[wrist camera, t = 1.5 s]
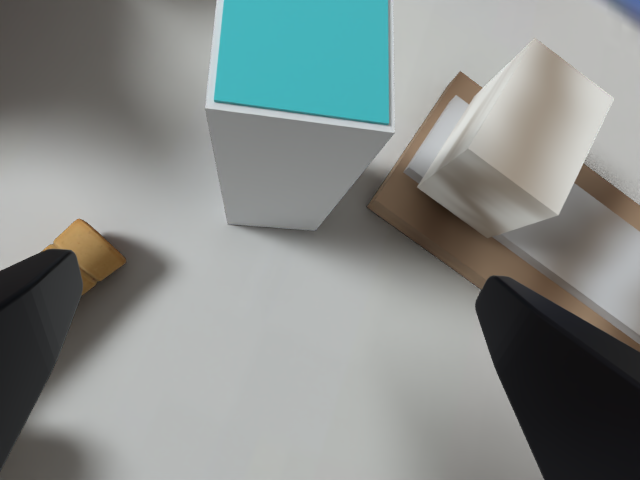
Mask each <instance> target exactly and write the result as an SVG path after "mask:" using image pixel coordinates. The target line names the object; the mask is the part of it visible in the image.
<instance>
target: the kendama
mask: <svg viewBox="0 0 640 480" xmlns="http://www.w3.org/2000/svg"><path fill="white" fill-rule="evenodd" d="M47 249H67V250H72V251H73V252H74V253H75V254H76V256H77V260H78V264H79V268H80V273H81V277H82V281H83V291H82V295H83V294H85V293H86V292H87V291H89V290H90V289H91V288H92V287H94V286H95V285H96V284H97V281H102V280H103V279H104V278H106V277H107V276H109V275H110V274H111V273H113V272H114V271H115V270H117V269H118V268H120V267H121V266H122V265H123V264H125V263H126V258H125V257H123V255H122V254H121V253H120V252H119V251H118V250H116V249H115V248H114V247H113V246H112V245H111V244H110V243H109V242H108V241H107V240H106V239H105V238H103V237H102V236H101V234H99V233H98V232H97V231H96V230H95V229H94V228H93V227H91V226H90V225H89V224H88V223H87V222H85V221H84V220H81V219H77V220H76V221H74V222H73V223H72V224H71V225H70V226H69V227H68V228H67V229H66V230H65V231H64V232H63V233H62V234H60V235H59V236H58V237H57V238H56V239H55V240H54V243H53V244H51V245H49V246H48V247H46V248H45V249H44V250H43V251H45V250H47Z"/></svg>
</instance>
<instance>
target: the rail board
mask: <svg viewBox="0 0 640 480" xmlns="http://www.w3.org/2000/svg"><path fill="white" fill-rule="evenodd" d="M613 100H614V98H613V97H612V96H611V95H609V94H608V93H607V92H605V91H604V90H603V89H601V88H600V87H599V86H598V85H596V84H595V83H594V82H592V81H591V80H590V79H588V78H587V77H586V76H584V75H583V74H582V73H580V72H579V71H578V70H577V69H575V68H574V67H573V66H571V65H570V64H569V63H567V62H566V61H565V60H563V59H562V58H561V57H559V56H558V55H557V54H556V53H554V52H553V51H552V50H550V49H549V48H548V47H546V46H545V45H544V44H542V43H541V42H540V41H538V40H537V39H536V38H534V39H533V40H532V41H531V42H530V43H529V44H528V45H527V46H526V47H525V48H524V49H523V50H522V51H521V52H520V53H519V54H518V55H516V56H515V57H514V58H513V59H512V60H511V61H510V62H509V63H508V64H507V65H506V66H505V67H504V68H503V69H502V70H501V71H500V72H499V73H498V74H497V75H496V76H495V77H494V78H493V79H492V80H491V81H490V82H489V83H487V84H486V85H485V86H484V87H483V88H482V87H481V86H479V85H478V84H477V83H475V82H474V81H473V80H471V79H470V78H469V77H467V76H466V75H465V74H463V73H462V72H461V71H460V72H459V73H458V74H457V76H456V77H455V78H454V79H453V80H452V81H451V82H450V84H449V85H448V86H447V88H446V89H445V91H444V92H443V94H442V95H441V97H440V98H439V100H438V101H437V103H436V104H435V106H434V107H433V109H432V110H431V112H430V113H429V115H428V116H427V118H426V119H425V121H424V122H423V124H422V125H421V127H420V128H419V130H418V131H417V133H416V134H415V136H414V137H413V139H412V140H411V142H410V143H409V144H408V146H407V147H406V149H405V150H404V152H403V153H402V155H401V156H400V158H399V159H398V161H397V162H396V164H395V165H394V167H393V168H392V170H391V171H390V173H389V174H388V176H387V177H386V179H385V180H384V182H383V183H382V185H381V186H380V188H379V189H378V191H377V192H376V194H375V195H374V197H373V198H372V200H371V201H370V203H369V204H368V206H367V208H369V209H370V210H371V211H373V212H374V213H375V214H377V215H378V216H380V217H381V218H382V219H384V220H385V221H387V222H388V223H389V224H391V225H392V226H394V227H395V228H396V229H398V230H399V231H401V232H402V233H403V234H405V235H406V236H407V237H409V238H410V239H412V240H413V241H414V242H416V243H417V244H419V245H420V246H421V247H423V248H424V249H426V250H427V251H428V252H430V253H431V254H433V255H434V256H435V257H437V258H438V259H439V260H441V261H442V262H444V263H445V264H446V265H448V266H449V267H451V268H452V269H453V270H455V271H456V272H458V273H459V274H460V275H462V276H463V277H465V278H466V279H467V280H469V281H470V282H471V283H473V284H474V285H476V286H477V287H478V288H480V289H481V290H482V288H483V286H484V284H485V282H486V280H487V279H488V278H489V277H490V276H493V275H498V276H508V277H511V278H512V279H514V280H516V281H517V282H519V283H521V284H523V285H524V286H526V287H528V288H530V289H531V290H533V291H535V292H537V293H538V294H540V295H542V296H544V297H545V298H547V299H549V300H550V301H552V302H554V303H556V304H557V305H559V306H561V307H563V308H564V309H566V310H568V311H570V312H571V313H573V314H575V315H576V316H578V317H580V318H582V319H583V320H585V321H587V322H589V323H590V324H592V325H594V326H596V327H597V328H599V329H601V330H602V331H604V332H606V333H608V334H609V335H611V336H613V337H615V338H616V339H618V340H620V341H622V342H623V343H625V344H627V345H629V346H630V347H632V348H634V349H635V350H637V351H639V352H640V205H638V204H637V203H636V202H634V201H633V200H632V199H630V198H629V197H628V196H626V195H625V194H624V193H622V192H621V191H620V190H618V189H617V188H616V187H614V186H613V185H612V184H610V183H609V182H608V181H606V180H605V179H604V178H602V177H601V176H600V175H598V174H597V173H596V172H594V171H593V170H592V169H590V168H589V167H588V166H586V165H585V164H584V161H585V159H586V157H587V155H588V153H589V151H590V149H591V146H592V144H593V142H594V140H595V138H596V136H597V134H598V132H599V130H600V128H601V126H602V123H603V121H604V119H605V117H606V115H607V113H608V111H609V109H610V107H611V105H612V103H613Z"/></svg>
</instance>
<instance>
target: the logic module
mask: <svg viewBox="0 0 640 480" xmlns="http://www.w3.org/2000/svg"><path fill="white" fill-rule="evenodd" d="M205 111H206V116H207V121H208V126H209V131H210V136H211V141H212V146H213V151H214V157H215V162H216V167H217V172H218V177H219V182H220V187H221V192H222V198H223V203H224V208H225V213H226V218H227V223H228V224H233V225H246V226H259V227H272V228H285V229H298V230H311V231H316V229H317V228H318V227H319V226H320V225H321V223H322V222H323V221H324V220H325V218H326V217H327V216H328V215H329V213H330V212H331V211H332V210H333V208H334V207H335V206H336V205H337V204H338V202H339V201H340V200H341V199H342V197H343V196H344V195H345V194H346V192H347V191H348V190H349V189H350V187H351V186H352V185H353V184H354V183H355V181H356V180H357V179H358V178H359V176H360V175H361V174H362V173H363V171H364V170H365V169H366V168H367V166H368V165H369V164H370V163H371V162H372V160H373V159H374V158H375V157H376V155H377V154H378V153H379V152H380V150H381V149H382V148H383V147H384V146H385V144H386V143H387V142H388V141H389V139H390V138H391V137H392V136H393V134H394V133H395V117H394V28H393V0H217V1H216V10H215V20H214V29H213V38H212V48H211V57H210V66H209V76H208V85H207V94H206V104H205Z"/></svg>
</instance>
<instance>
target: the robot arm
mask: <svg viewBox="0 0 640 480" xmlns="http://www.w3.org/2000/svg"><path fill="white" fill-rule="evenodd" d="M82 291H83V281H82V277H81V273H80V268H79V264H78V260H77V256H76V254H75V253H74V252H73V251H72V250H67V249H47V250H45V251H42V252H40V253H38V254H36V255H34V256H32V257H29V258H27V259H25V260H23V261H21V262H19V263H16V264H14V265H12V266H10V267H8V268H6V269H3V270H1V271H0V471H1V469H2V467H3V465H4V463H5V461H6V459H7V457H8V456H9V454H10V452H11V450H12V448H13V446H14V444H15V442H16V440H17V438H18V436H19V434H20V432H21V430H22V428H23V426H24V424H25V423H26V421H27V419H28V417H29V415H30V413H31V411H32V409H33V407H34V405H35V403H36V401H37V399H38V397H39V395H40V393H41V391H42V390H43V388H44V386H45V384H46V382H47V380H48V378H49V376H50V374H51V372H52V370H53V368H54V366H55V364H56V361H57V359H58V356H59V354H60V351H61V349H62V346H63V343H64V341H65V338H66V335H67V333H68V330H69V327H70V325H71V322H72V319H73V316H74V314H75V311H76V308H77V306H78V303H79V300H80V298H81V295H82ZM475 308H476V313H477V316H478V319H479V322H480V325H481V328H482V331H483V334H484V337H485V340H486V343H487V346H488V349H489V352H490V355H491V358H492V361H493V364H494V367H495V369H496V372H497V374H498V376H499V379H500V381H501V383H502V385H503V388H504V390H505V392H506V394H507V397H508V399H509V401H510V404H511V406H512V408H513V410H514V413H515V415H516V417H517V419H518V422H519V424H520V426H521V428H522V431H523V433H524V435H525V437H526V440H527V442H528V444H529V446H530V449H531V451H532V453H533V455H534V458H535V460H536V462H537V464H538V467H539V469H540V471H541V473H542V476H543V478H544V480H640V352H639V351H637V350H635V349H634V348H632V347H630V346H629V345H627V344H625V343H623V342H622V341H620V340H618V339H616V338H615V337H613V336H611V335H609V334H608V333H606V332H604V331H602V330H601V329H599V328H597V327H596V326H594V325H592V324H590V323H589V322H587V321H585V320H583V319H582V318H580V317H578V316H576V315H575V314H573V313H571V312H570V311H568V310H566V309H564V308H563V307H561V306H559V305H557V304H556V303H554V302H552V301H550V300H549V299H547V298H545V297H544V296H542V295H540V294H538V293H537V292H535V291H533V290H531V289H530V288H528V287H526V286H524V285H523V284H521V283H519V282H517V281H516V280H514V279H512V278H511V277H508V276H498V275H493V276H490V277H489V278H488V279H487V280H486V282H485V284H484V286H483V288H482V290H481V292H480V294H479V296H478V298H477V300H476V303H475Z"/></svg>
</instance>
